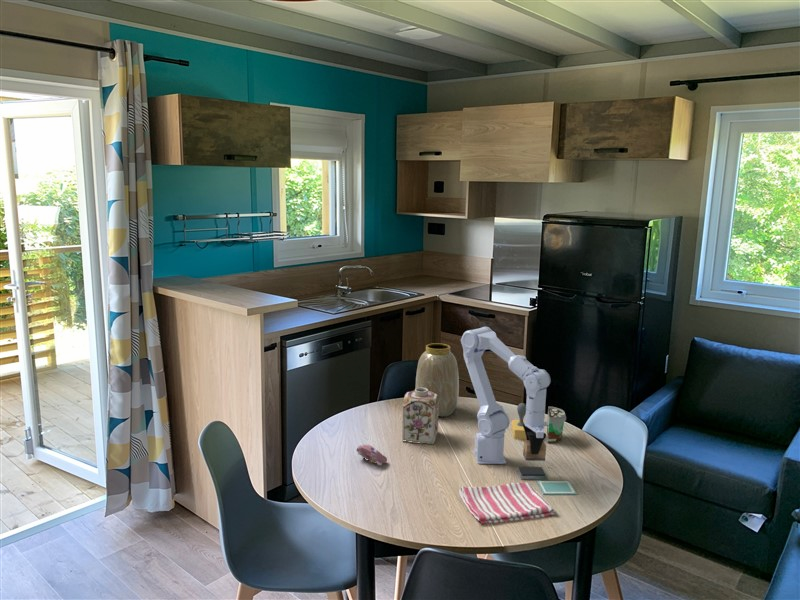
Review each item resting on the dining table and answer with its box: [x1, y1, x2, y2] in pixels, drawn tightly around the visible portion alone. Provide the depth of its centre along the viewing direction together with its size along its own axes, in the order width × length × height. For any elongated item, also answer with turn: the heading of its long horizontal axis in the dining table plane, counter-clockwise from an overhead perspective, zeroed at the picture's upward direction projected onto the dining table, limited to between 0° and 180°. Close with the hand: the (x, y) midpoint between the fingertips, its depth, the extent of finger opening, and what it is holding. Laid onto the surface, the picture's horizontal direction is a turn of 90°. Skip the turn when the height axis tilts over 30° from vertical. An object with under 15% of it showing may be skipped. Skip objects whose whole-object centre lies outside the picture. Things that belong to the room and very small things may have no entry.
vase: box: [415, 342, 460, 417], centre depth 244 cm, size 17×17×27 cm
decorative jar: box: [401, 387, 439, 445], centre depth 219 cm, size 12×12×18 cm
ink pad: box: [516, 466, 548, 481], centre depth 192 cm, size 8×6×2 cm
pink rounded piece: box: [356, 443, 388, 464], centre depth 200 cm, size 10×5×7 cm, turn 48°
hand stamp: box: [522, 440, 547, 462], centre depth 191 cm, size 6×4×7 cm, turn 91°
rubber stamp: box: [510, 402, 527, 441], centre depth 224 cm, size 10×6×12 cm, turn 176°
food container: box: [546, 406, 567, 444], centre depth 220 cm, size 12×6×10 cm, turn 168°
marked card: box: [536, 480, 578, 496], centre depth 184 cm, size 10×8×1 cm
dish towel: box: [458, 482, 557, 525], centre depth 174 cm, size 17×23×4 cm
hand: (533, 450), depth 191 cm, fingers closed on hand stamp, 4 cm apart
